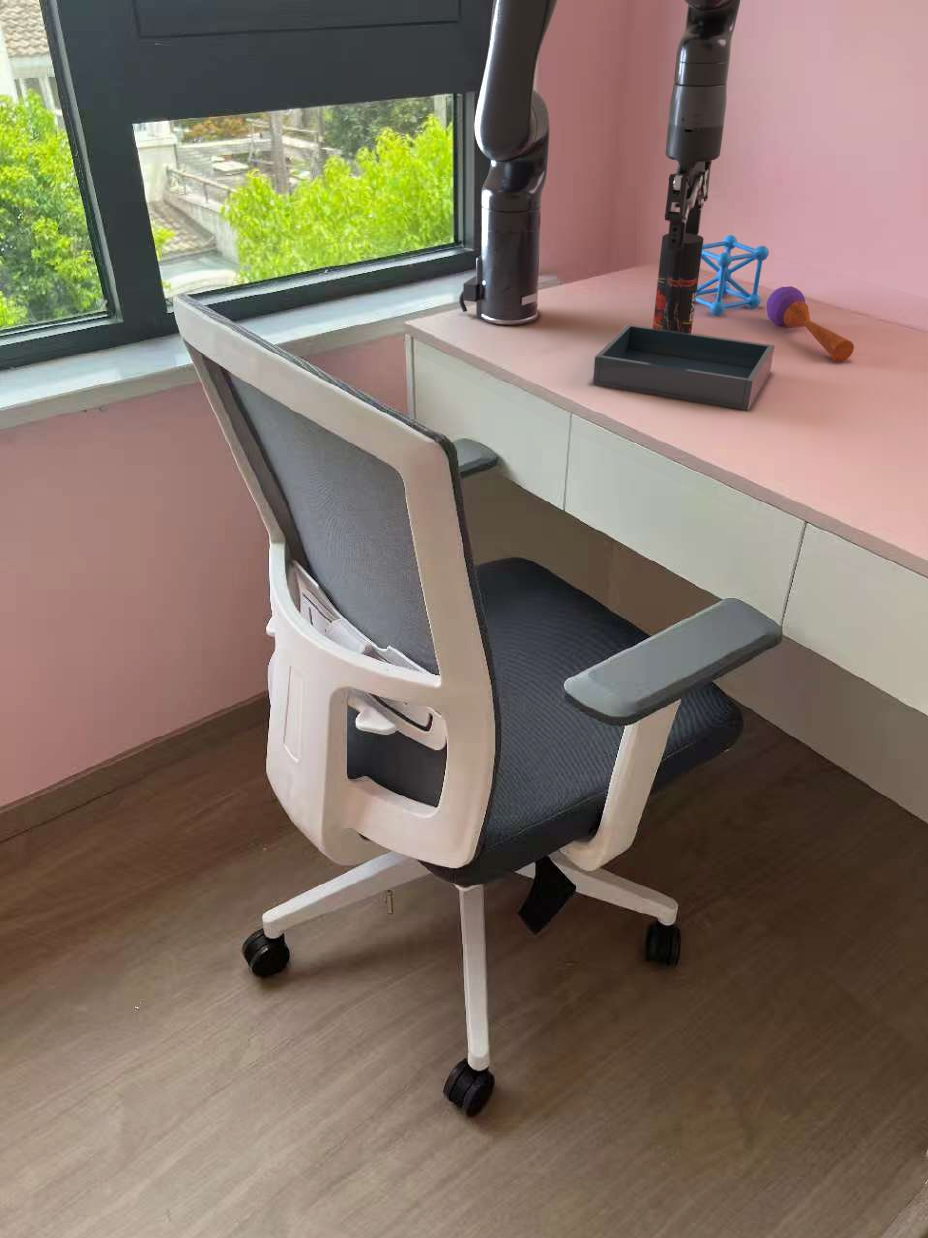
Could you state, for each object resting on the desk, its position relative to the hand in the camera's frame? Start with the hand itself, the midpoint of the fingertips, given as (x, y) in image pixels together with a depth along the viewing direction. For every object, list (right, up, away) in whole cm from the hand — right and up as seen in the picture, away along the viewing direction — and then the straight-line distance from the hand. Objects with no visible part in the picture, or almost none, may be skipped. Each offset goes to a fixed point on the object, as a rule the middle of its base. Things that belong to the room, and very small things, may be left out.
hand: (682, 242), depth 144 cm
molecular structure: (+11, -3, +21) cm, 24 cm away
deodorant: (0, -12, +9) cm, 15 cm away
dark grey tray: (-1, -21, -5) cm, 22 cm away
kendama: (+21, -12, +8) cm, 25 cm away
